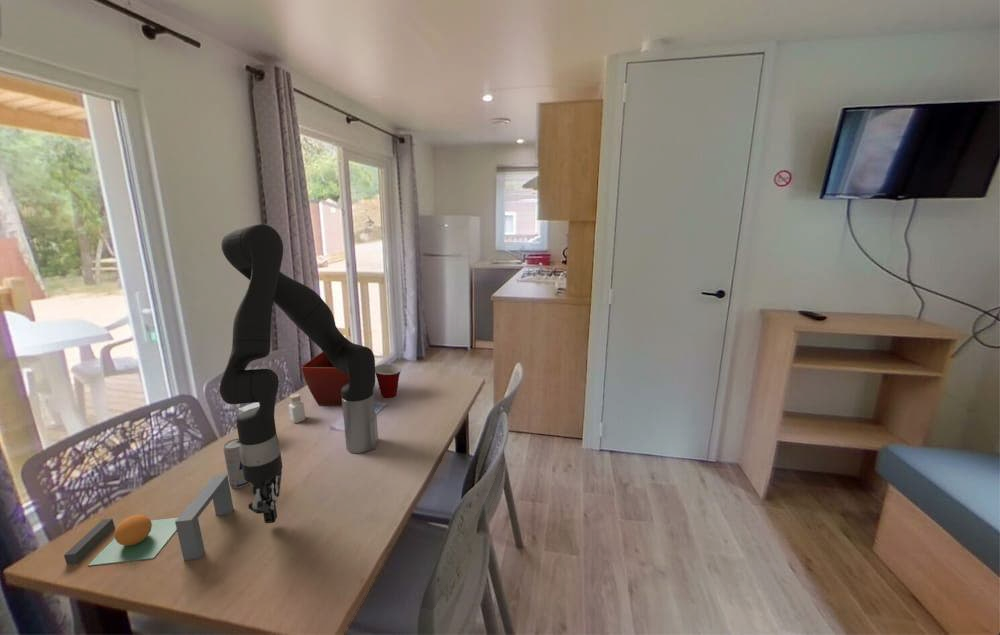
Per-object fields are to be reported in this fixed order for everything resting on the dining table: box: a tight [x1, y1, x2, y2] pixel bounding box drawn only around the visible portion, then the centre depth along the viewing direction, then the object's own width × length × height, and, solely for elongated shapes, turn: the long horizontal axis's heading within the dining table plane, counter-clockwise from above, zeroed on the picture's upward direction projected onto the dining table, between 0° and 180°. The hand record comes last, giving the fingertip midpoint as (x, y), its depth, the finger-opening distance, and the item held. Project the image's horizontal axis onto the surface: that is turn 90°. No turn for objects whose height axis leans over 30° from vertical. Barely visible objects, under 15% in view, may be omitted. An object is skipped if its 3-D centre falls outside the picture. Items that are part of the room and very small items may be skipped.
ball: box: [114, 514, 152, 546], centre depth 87 cm, size 6×6×6 cm
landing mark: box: [87, 517, 179, 567], centre depth 88 cm, size 12×12×1 cm
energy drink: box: [223, 437, 251, 489], centre depth 106 cm, size 5×5×12 cm
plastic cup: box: [375, 363, 403, 399], centre depth 160 cm, size 11×11×12 cm
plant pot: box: [300, 351, 349, 406], centre depth 156 cm, size 19×19×17 cm
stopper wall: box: [63, 518, 116, 566], centre depth 87 cm, size 2×10×2 cm, turn 9°
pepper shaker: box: [288, 393, 306, 424], centre depth 140 cm, size 4×4×10 cm
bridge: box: [175, 474, 234, 561], centre depth 90 cm, size 3×15×10 cm, turn 10°
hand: (271, 520), depth 93 cm, fingers closed
